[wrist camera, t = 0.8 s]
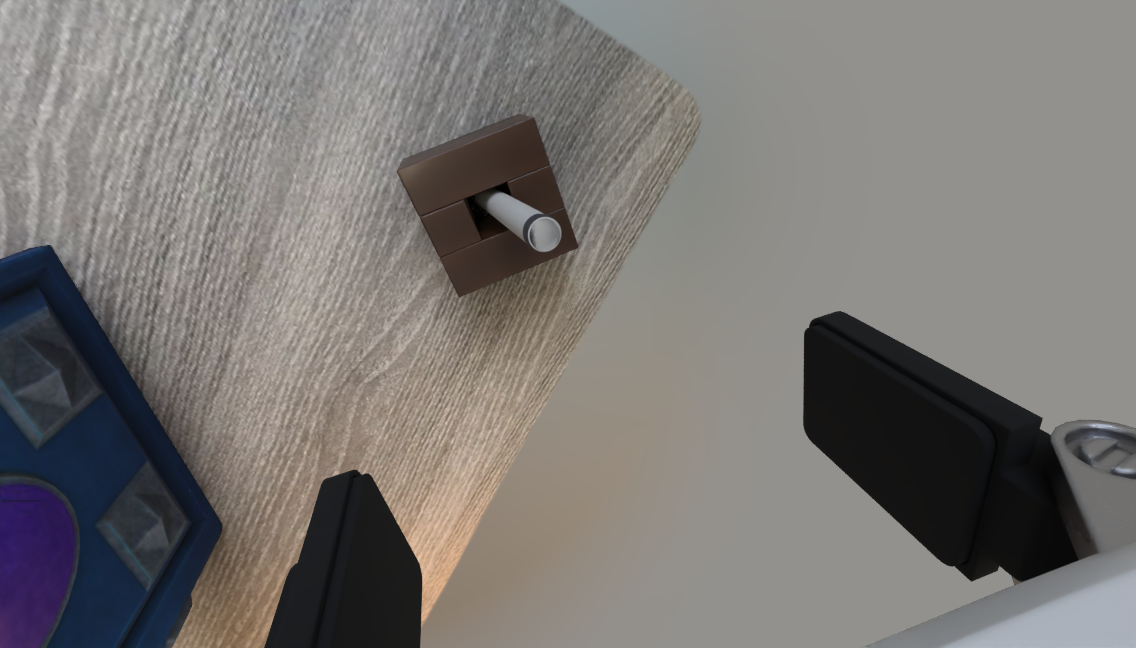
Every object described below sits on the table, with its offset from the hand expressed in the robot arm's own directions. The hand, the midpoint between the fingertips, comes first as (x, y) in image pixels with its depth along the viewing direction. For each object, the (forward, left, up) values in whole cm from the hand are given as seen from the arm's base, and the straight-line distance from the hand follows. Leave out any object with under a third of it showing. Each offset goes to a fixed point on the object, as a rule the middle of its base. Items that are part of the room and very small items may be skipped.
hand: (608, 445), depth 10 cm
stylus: (-1, 0, -24) cm, 24 cm away
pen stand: (-1, 0, -24) cm, 24 cm away
